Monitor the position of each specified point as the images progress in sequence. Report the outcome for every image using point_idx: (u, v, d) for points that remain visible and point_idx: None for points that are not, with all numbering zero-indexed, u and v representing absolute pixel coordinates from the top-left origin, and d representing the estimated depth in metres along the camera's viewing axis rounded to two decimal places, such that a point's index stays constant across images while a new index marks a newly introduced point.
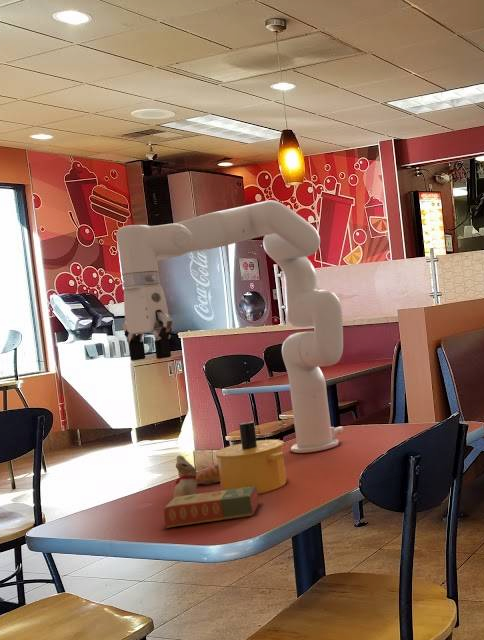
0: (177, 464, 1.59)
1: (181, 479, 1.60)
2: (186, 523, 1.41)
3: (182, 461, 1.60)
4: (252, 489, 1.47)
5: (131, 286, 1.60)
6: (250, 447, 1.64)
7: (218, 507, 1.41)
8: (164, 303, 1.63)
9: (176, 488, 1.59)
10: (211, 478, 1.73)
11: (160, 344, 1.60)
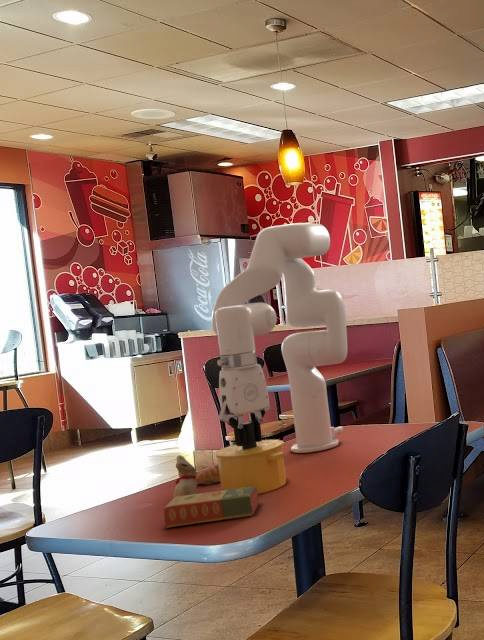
0: (177, 464, 1.59)
1: (181, 479, 1.60)
2: (186, 523, 1.41)
3: (182, 461, 1.60)
4: (252, 489, 1.47)
5: None
6: (250, 447, 1.64)
7: (218, 507, 1.41)
8: (228, 389, 1.60)
9: (176, 488, 1.59)
10: (211, 478, 1.73)
11: None
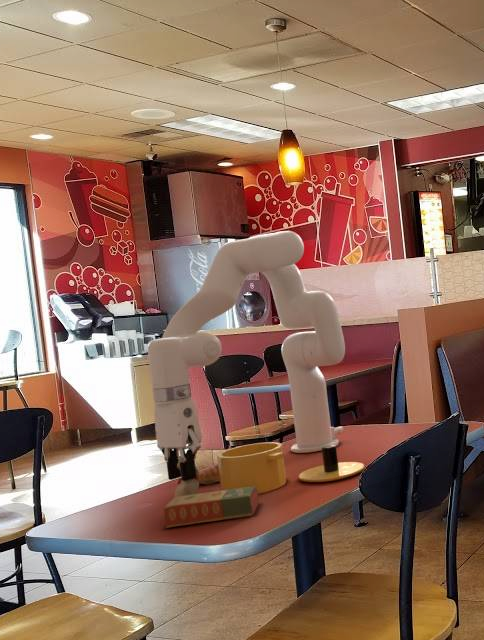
0: (178, 464, 1.59)
1: None
2: (186, 523, 1.41)
3: None
4: (252, 489, 1.47)
5: (163, 402, 1.57)
6: (333, 470, 1.67)
7: (218, 507, 1.41)
8: (196, 417, 1.59)
9: (177, 488, 1.58)
10: (211, 478, 1.73)
11: (185, 466, 1.59)
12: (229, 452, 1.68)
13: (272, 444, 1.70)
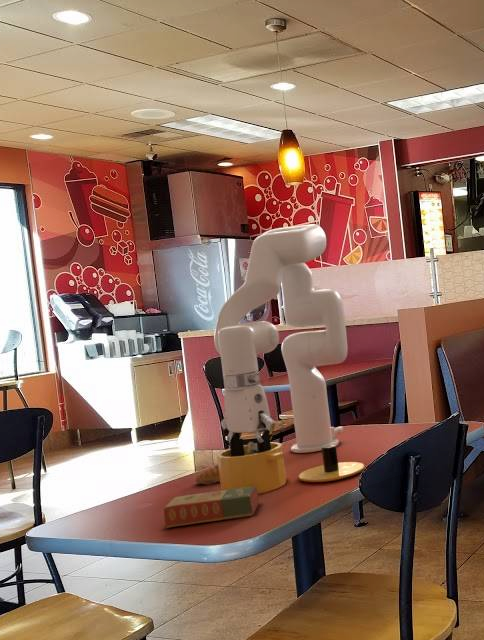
0: (248, 450, 1.63)
1: None
2: (186, 523, 1.41)
3: (253, 448, 1.64)
4: (252, 489, 1.47)
5: (234, 388, 1.61)
6: (333, 470, 1.67)
7: (218, 507, 1.41)
8: (265, 403, 1.64)
9: None
10: (211, 478, 1.73)
11: (262, 446, 1.62)
12: (229, 452, 1.68)
13: (272, 444, 1.70)
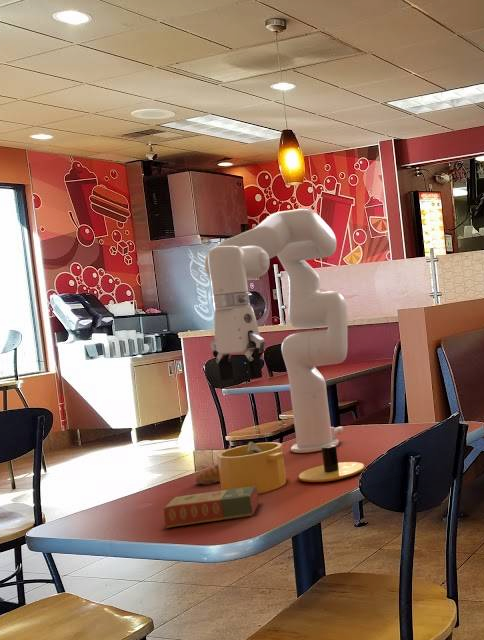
0: (248, 450, 1.63)
1: None
2: (186, 523, 1.41)
3: (253, 448, 1.64)
4: (252, 489, 1.47)
5: (224, 307, 1.61)
6: (333, 470, 1.67)
7: (218, 507, 1.41)
8: (255, 324, 1.63)
9: None
10: (211, 478, 1.73)
11: (252, 365, 1.61)
12: (229, 452, 1.68)
13: (272, 444, 1.70)
